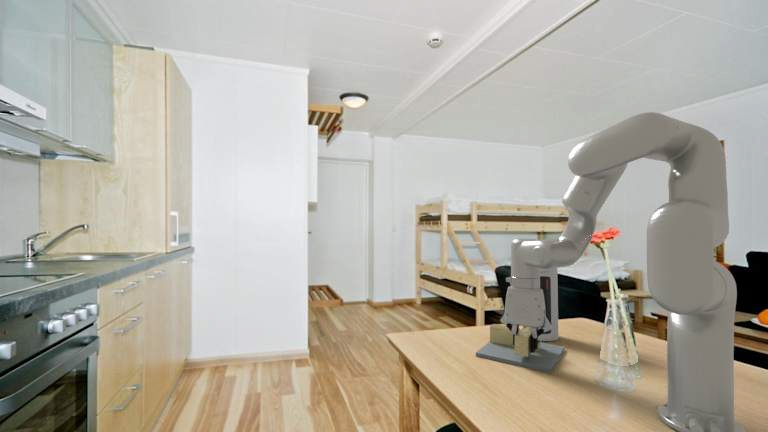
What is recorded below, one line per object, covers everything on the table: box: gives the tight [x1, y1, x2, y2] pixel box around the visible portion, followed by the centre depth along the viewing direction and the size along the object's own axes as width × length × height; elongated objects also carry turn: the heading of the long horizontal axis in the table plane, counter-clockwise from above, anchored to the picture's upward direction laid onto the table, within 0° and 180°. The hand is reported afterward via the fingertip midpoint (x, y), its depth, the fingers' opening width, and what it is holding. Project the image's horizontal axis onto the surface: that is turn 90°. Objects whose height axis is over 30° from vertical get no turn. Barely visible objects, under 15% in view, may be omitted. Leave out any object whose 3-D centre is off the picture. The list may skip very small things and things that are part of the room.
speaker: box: [538, 268, 559, 343], centre depth 121 cm, size 11×10×26 cm
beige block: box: [515, 326, 541, 357], centre depth 103 cm, size 14×4×5 cm, turn 145°
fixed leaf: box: [489, 323, 542, 352], centre depth 110 cm, size 4×14×7 cm, turn 55°
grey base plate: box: [475, 340, 565, 374], centre depth 106 cm, size 20×20×1 cm
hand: (525, 349), depth 100 cm, fingers closed on beige block, 3 cm apart
